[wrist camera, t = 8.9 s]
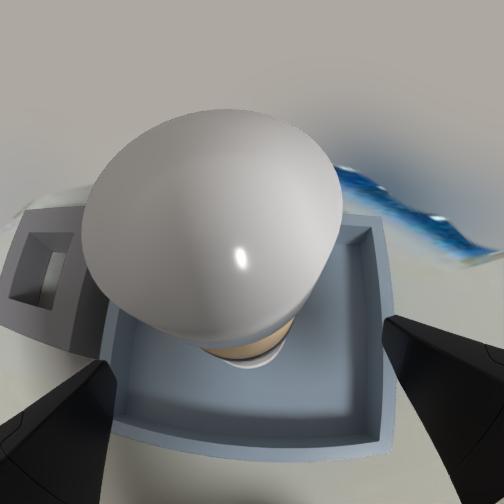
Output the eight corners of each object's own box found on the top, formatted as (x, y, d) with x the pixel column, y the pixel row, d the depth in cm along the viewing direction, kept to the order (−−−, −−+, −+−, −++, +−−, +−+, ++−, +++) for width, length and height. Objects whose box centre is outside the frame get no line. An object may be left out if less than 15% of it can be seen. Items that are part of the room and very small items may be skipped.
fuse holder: (127, 230, 20) (107, 204, 17) (99, 359, 15) (68, 352, 12) (45, 230, 21) (25, 210, 17) (17, 331, 16) (-11, 319, 13)
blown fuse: (297, 321, 16) (374, 156, 4) (261, 382, 14) (247, 398, 3) (237, 288, 17) (186, 94, 5) (199, 345, 15) (45, 236, 4)
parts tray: (366, 239, 19) (381, 216, 16) (371, 442, 12) (391, 452, 10) (149, 231, 20) (134, 208, 17) (118, 421, 14) (93, 425, 11)
